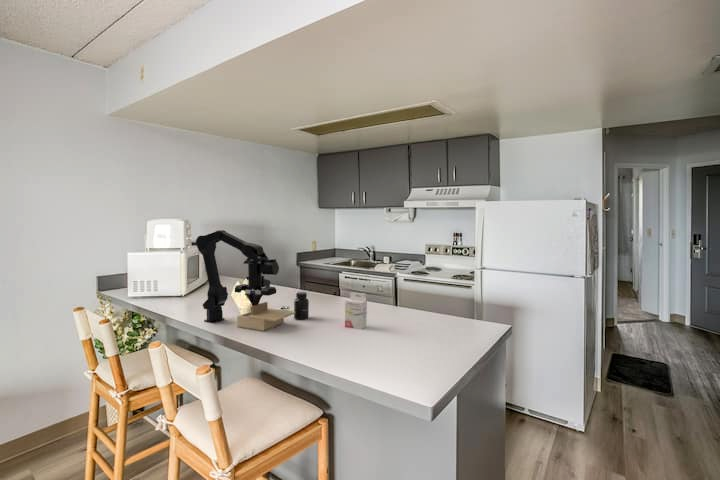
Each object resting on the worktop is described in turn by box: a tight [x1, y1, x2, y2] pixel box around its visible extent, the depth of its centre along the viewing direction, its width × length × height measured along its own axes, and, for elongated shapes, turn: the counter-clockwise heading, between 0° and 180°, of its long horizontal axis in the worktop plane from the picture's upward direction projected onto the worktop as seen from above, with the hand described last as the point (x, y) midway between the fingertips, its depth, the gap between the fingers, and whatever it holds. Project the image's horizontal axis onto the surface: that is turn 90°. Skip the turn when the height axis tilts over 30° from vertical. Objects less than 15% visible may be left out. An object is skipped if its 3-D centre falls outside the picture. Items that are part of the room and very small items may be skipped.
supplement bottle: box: [293, 291, 310, 321], centre depth 176 cm, size 7×7×12 cm
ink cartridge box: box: [344, 291, 368, 330], centre depth 162 cm, size 9×5×15 cm, turn 65°
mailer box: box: [236, 310, 285, 333], centre depth 164 cm, size 14×14×5 cm
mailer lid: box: [247, 301, 296, 322], centre depth 162 cm, size 15×15×4 cm
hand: (255, 308), depth 165 cm, fingers closed
